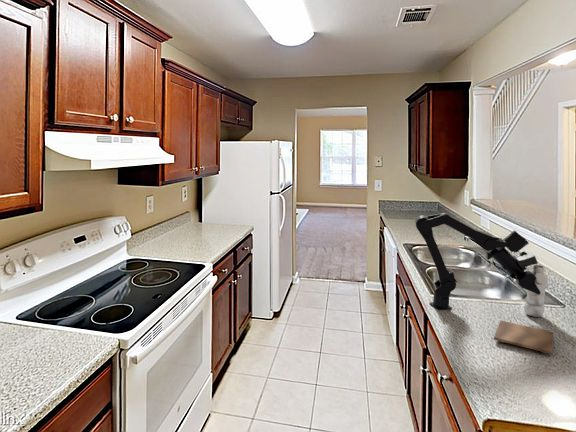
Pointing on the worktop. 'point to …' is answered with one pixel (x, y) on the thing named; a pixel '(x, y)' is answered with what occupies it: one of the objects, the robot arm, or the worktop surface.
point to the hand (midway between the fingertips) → (535, 289)
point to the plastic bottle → (535, 301)
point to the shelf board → (525, 336)
